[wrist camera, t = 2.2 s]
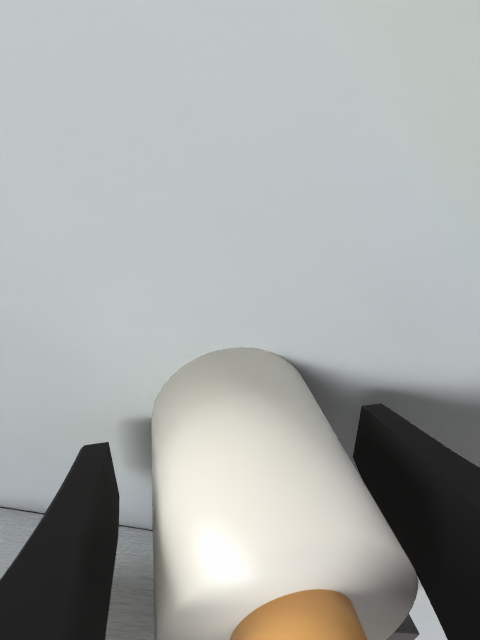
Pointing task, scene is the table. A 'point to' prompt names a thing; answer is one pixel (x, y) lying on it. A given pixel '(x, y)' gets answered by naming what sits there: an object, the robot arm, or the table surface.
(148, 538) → the grey two-tone device
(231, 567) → the white orange-capped bottle
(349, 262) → the table surface
